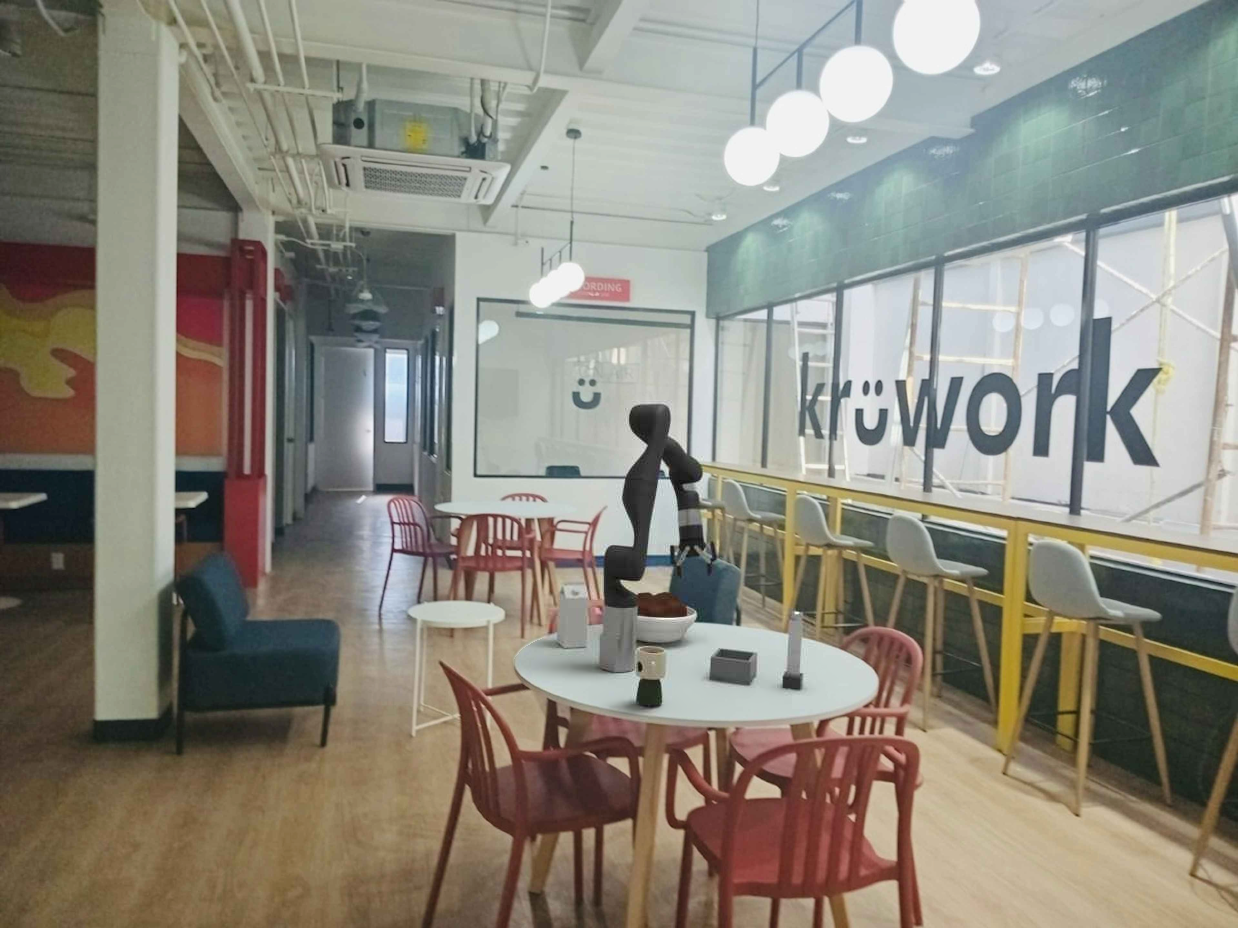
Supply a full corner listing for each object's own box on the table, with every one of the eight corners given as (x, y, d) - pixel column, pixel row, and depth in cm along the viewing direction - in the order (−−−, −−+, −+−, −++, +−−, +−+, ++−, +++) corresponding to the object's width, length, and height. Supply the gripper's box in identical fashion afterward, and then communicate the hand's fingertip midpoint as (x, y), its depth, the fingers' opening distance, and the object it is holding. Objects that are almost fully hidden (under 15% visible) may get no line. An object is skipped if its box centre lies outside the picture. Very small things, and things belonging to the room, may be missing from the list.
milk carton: (556, 642, 259) (559, 579, 258) (579, 641, 262) (582, 579, 261) (563, 648, 252) (566, 584, 252) (586, 647, 255) (589, 583, 254)
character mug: (632, 696, 210) (634, 643, 210) (661, 697, 210) (664, 644, 210) (635, 710, 199) (638, 655, 199) (666, 711, 200) (669, 656, 199)
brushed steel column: (800, 689, 222) (804, 614, 221) (782, 687, 223) (786, 612, 222) (802, 684, 227) (806, 610, 226) (784, 682, 228) (788, 608, 227)
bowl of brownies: (655, 654, 251) (657, 602, 250) (598, 636, 269) (600, 588, 268) (712, 643, 267) (714, 594, 267) (655, 627, 286) (657, 581, 285)
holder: (749, 684, 224) (750, 661, 224) (709, 679, 227) (710, 656, 227) (756, 674, 234) (757, 652, 234) (717, 669, 238) (718, 647, 237)
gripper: (666, 526, 266) (670, 578, 263) (712, 521, 264) (717, 574, 261) (668, 527, 273) (673, 579, 271) (713, 523, 271) (719, 575, 269)
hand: (695, 577), depth 266 cm, fingers open, 8 cm apart
